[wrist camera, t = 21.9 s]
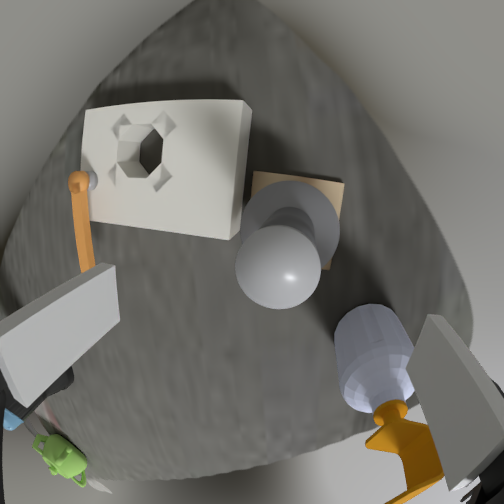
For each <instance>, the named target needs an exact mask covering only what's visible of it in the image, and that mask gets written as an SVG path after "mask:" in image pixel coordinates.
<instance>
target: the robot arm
mask: <svg viewBox="0 0 504 504" xmlns="http://www.w3.org/2000/svg"><path fill="white" fill-rule="evenodd" d="M119 321H120V315H119V307H118V297H117V286H116V273H115V265H111V264H106V263H100V264H98V265H96V266H94V267H92V268H91V269H89V270H87V271H85V272H83V273H81V274H79V275H78V276H76V277H74V278H72V279H70V280H69V281H67V282H65V283H63V284H61V285H60V286H58V287H56V288H54V289H53V290H51V291H49V292H48V293H46V294H44V295H42V296H41V297H39V298H37V299H36V300H34V301H32V302H31V303H29V304H27V305H26V306H24V307H22V308H21V309H19V310H17V311H16V312H14V313H12V314H11V315H9V316H8V317H6V318H4V319H3V320H1V321H0V504H5V500H4V490H3V475H2V474H3V473H2V441H3V440H2V439H3V428H5V429H7V430H14V429H15V428H16V427H18V426H19V425H20V424H21V423H23V422H24V420H25V419H26V418H27V417H28V416H29V415H30V414H31V413H32V412H33V411H34V410H35V409H36V408H37V407H38V406H39V405H40V404H41V403H42V402H43V401H44V400H45V399H46V398H47V397H48V396H50V395H52V394H55V393H57V392H59V391H60V390H65V389H67V388H68V387H69V386H70V385H71V384H72V383H73V381H74V375H73V371H72V368H71V365H72V364H73V363H74V362H75V361H76V360H78V359H79V358H80V357H81V356H82V355H83V354H84V353H85V352H86V351H87V350H88V349H89V348H90V347H92V346H93V345H94V344H95V343H96V342H97V341H98V340H99V339H100V338H101V337H102V336H104V335H105V334H106V333H107V332H108V331H109V330H110V329H111V328H112V327H114V326H115V325H116V324H117V323H118V322H119ZM405 369H406V371H407V373H408V375H409V378H410V380H411V383H412V385H413V387H414V390H415V392H416V395H417V397H418V400H419V402H420V405H421V407H422V410H423V413H424V415H425V418H426V421H427V423H428V426H429V429H430V432H431V435H432V437H433V440H434V443H435V446H436V449H437V452H438V455H439V459H440V462H441V465H442V468H443V472H444V475H445V479H446V482H447V486H448V489H449V492H450V491H454V490H458V489H461V488H464V487H467V486H468V485H469V484H470V483H471V482H472V481H474V480H475V479H476V478H477V477H478V476H479V478H480V480H481V482H480V483H479V484H478V485H477V486H475V487H474V488H473V489H472V490H471V491H470V492H469V493H467V494H466V495H465V496H464V497H463V498H462V499H461V501H460V502H463V501H465V500H466V499H467V498H468V497H469V496H471V495H472V496H471V498H470V500H469V501H467V502H466V504H504V393H503V392H502V390H501V389H500V387H499V386H498V385H497V384H496V383H495V382H494V381H493V380H492V379H491V378H490V377H489V376H488V375H487V373H486V372H485V370H484V369H483V367H482V366H481V365H480V363H479V362H478V361H477V360H476V358H475V356H474V355H473V354H472V352H471V351H470V350H469V349H468V347H467V346H466V345H465V343H464V342H463V341H462V339H461V338H460V337H459V336H458V334H457V333H456V332H455V331H454V329H453V328H452V327H451V326H450V324H449V323H448V322H447V321H446V320H445V318H444V317H443V316H442V315H432V314H428V315H427V318H426V320H425V323H424V326H423V328H422V331H421V333H420V336H419V338H418V341H417V343H416V345H415V348H414V350H413V352H412V355H411V357H410V359H409V361H408V364H407V366H406V368H405Z"/></svg>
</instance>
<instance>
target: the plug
mask: <svg viewBox="0 0 504 504" xmlns="http://www.w3.org/2000/svg"><path fill="white" fill-rule="evenodd" d="M240 235H241V240H242V246H241V247H240V249H239V251H238V254H237V257H236V262H235V272H236V277H237V280H238V283H239V285H240V287H241V288H242V290H243V291H244V293H245V294H246V295H247V296H248V297H249V298H250V299H252V300H253V301H254V302H256V303H258V304H260V305H262V306H264V307H268V308H273V309H286V308H291V307H294V306H296V305H299V304H301V303H302V302H304V301H305V300H306V299H308V298H309V297H310V296H311V295H312V293H313V292H314V290H315V289H316V287H317V285H318V282H319V279H320V274H321V268H323V267H324V266H325V265H326V264H327V263H328V262H329V260H330V259H331V258H332V256H333V255H334V253H335V250H336V248H337V245H338V242H339V236H340V226H339V220H338V216H337V213H336V210H335V209H334V207H333V205H332V203H331V202H330V201H329V199H328V198H327V197H326V196H325V195H324V194H323V193H322V192H321V191H319V190H318V189H317V188H315V187H313V186H311V185H309V184H307V183H304V182H300V181H288V180H287V181H280V182H276V183H273V184H270V185H268V186H266V187H264V188H262V189H261V190H260V191H258V192H257V193H256V194H255V195H254V196H253V197H252V198H251V199H250V201H249V202H248V203H247V205H246V207H245V209H244V212H243V214H242V218H241V224H240Z"/></svg>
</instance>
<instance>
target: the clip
mask: <svg viewBox="0 0 504 504" xmlns="http://www.w3.org/2000/svg"><path fill="white" fill-rule="evenodd" d="M89 183H90V180H89V176H88V174H87V173H86V172H85V171H74V172H72V173H71V175H70V176H69V180H68V186H69V189H70V191H71V194H72V207H73V218H74V227H75V235H76V243H77V250H78V256H79V262H80V268H81V273H83V272H85V271H87V270H89V269H91V268H92V267H94V266H95V260H94V253H93V246H92V239H91V230H90V221H89V210H88V197H87V189H88V187H89Z"/></svg>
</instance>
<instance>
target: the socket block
mask: <svg viewBox="0 0 504 504" xmlns="http://www.w3.org/2000/svg"><path fill="white" fill-rule="evenodd" d="M251 118H252V109H251V108H250V107H249V106H248V105H247V104H246V103H245V102H244V100H218V99H200V100H170V101H154V102H142V103H132V104H123V105H115V106H108V107H101V108H95V109H89V110H86V113H85V121H84V130H83V140H82V153H81V171H85V172H86V173H87V174H88V176H89V180H90V183H89V187H88V189H87V197H88V210H89V221H96V222H104V223H111V224H118V225H126V226H133V227H140V228H147V229H154V230H161V231H169V232H176V233H183V234H190V235H197V236H203V237H210V238H217V239H224V240H230V239H231V238H232V237H233V236H234V235H235V234H236V233H237V232H238V231H239V230H240V223H241V213H242V203H243V193H244V183H245V173H246V164H247V154H248V145H249V136H250V127H251ZM153 129H156V130H157V132H158V133H159V134H160V135H161V137H162V138H163V139H164V140H163V151H162V163H161V164H160V165H159V166H158V167H157V168H156V169H155V170H154V171H153V172H152V173H151V174H150V175H149V174H148V173H147V171H146V170H145V169H144V167H143V166H142V165H141V163H140V162H139V158H140V146H141V142H142V141H143V140H144V139H145V138H146V136H147V135H148V134H149V133H150V132H151V131H152V130H153Z"/></svg>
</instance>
